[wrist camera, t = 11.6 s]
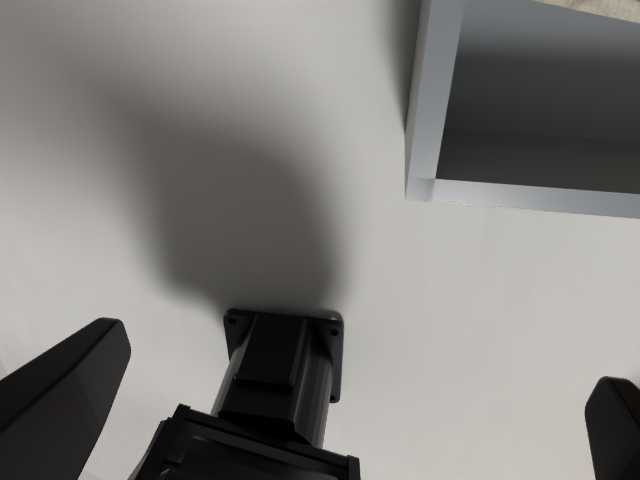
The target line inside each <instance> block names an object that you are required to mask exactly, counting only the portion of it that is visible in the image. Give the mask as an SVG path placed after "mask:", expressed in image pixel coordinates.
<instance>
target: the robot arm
mask: <svg viewBox="0 0 640 480" xmlns="http://www.w3.org/2000/svg"><path fill="white" fill-rule="evenodd" d="M232 318H234V319H232ZM223 321H224V328H225V335H226V341H227V348H228V355H229V361H230V363H229V365H228V368H227V371H226V373H225V376H224V379H223V381H222V384H221V386H220V389H219V392H218V394H217V397H216V400H215V402H214V405H213V407H212V410H211V413H210V415H209V414H206V413H203V412H200V411H196V410H193V409H190V408H191V407H190V406H187V405H184V404H180V403H179V405H178V407H177V409H176V411H175V413H174V414H173V416H172V418H171V417H168V418H167V420H164V421H161V422H160V424H159V426H158V428H157V430H156V432H155V434H154V437H153V439H152V441H151V443H150V445H149V447H148V449H147V451H146V453H145V454H144V456H143V458H142V459H141V461H140V462H139V464H138V465H137V466H136V468H135V469H134V471H133V472H132V474H131V475H130V477H129V478H128V479H127V480H361V479H360V463H359V458H357V457H354V456H350V455H347V456H343V455H340V454H337V453H334V452H330V451H327V450H324V449H322V447H323V440H324V433H325V427H326V420H327V413H328V407H329V403H337V402H338V401H339V400H340V394H341V376H342V359H343V341H344V325H343V324H342V323H341V322H339V321H335V320H327V319H318V318H309V317H300V316H291V315H282V314H273V313H264V312H255V311H246V310H236V309H230V310H227V312H226V313H225V316H224V319H223ZM332 329H335V330H336V331H334V330H332ZM130 356H131V346H130V343H129V340H128V337H127V334H126V330H125V327H124V324H123V322H122V321H121V320H119V319H113V318H105V317H102V318H98V319H96V320H95V321H93V322H91V323H90V324H88V325H87V326H85V327H83V328H82V329H80V330H79V331H77V332H76V333H74V334H72V335H71V336H69V337H68V338H66V339H65V340H63V341H61V342H60V343H58V344H57V345H55V346H54V347H52V348H50V349H49V350H47V351H46V352H44V353H42V354H41V355H39V356H38V357H36V358H35V359H33V360H31V361H30V362H28V363H27V364H25V365H24V366H22V367H20V368H19V369H17V370H16V371H14V372H13V373H11V374H9V375H8V376H6V377H5V378H3V379H1V380H0V480H78V478H79V476H80V474H81V472H82V470H83V468H84V466H85V464H86V462H87V460H88V458H89V456H90V454H91V452H92V450H93V448H94V446H95V444H96V442H97V440H98V438H99V436H100V434H101V432H102V429H103V427H104V425H105V422H106V420H107V417H108V415H109V412H110V410H111V407H112V404H113V402H114V399H115V396H116V394H117V391H118V389H119V386H120V383H121V381H122V378H123V375H124V373H125V370H126V368H127V365H128V362H129V360H130ZM585 421H586V427H587V432H588V438H589V444H590V450H591V455H592V461H593V467H594V473H595V479H596V480H640V389H639V388H638V387H637V386H635V385H634V384H633V383H632V382H631V381H629V380H627V379H624V378H617V377H608V376H604V377H602V378H600V379H599V381H598V382H597V384H596V386H595V388H594V390H593V392H592V394H591V395H590V397H589V399H588V401H587V403H586V406H585Z"/></svg>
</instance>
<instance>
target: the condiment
mask: <svg viewBox="0 0 640 480" xmlns="http://www.w3.org/2000/svg"><path fill="white" fill-rule="evenodd" d="M533 1H537V2H541V3H546V4H552V5H558V6H562V7H565V8H570V9H574V10H578V11H584V12H588V13H593V14H597V15H602V16H607V17H612V18H617V19H622V20H626V21H631V22H636V23H640V0H533Z"/></svg>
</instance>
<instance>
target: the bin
mask: <svg viewBox="0 0 640 480" xmlns="http://www.w3.org/2000/svg"><path fill="white" fill-rule="evenodd" d="M405 200H414V201H426V202H439V203H451V204H463V205H476V206H488V207H500V208H513V209H525V210H537V211H550V212H562V213H574V214H587V215H599V216H611V217H623V218H636V219H640V23H636V22H631V21H626V20H622V19H617V18H612V17H607V16H602V15H597V14H593V13H588V12H584V11H578V10H574V9H570V8H565V7H562V6H558V5H552V4H546V3H541V2H537V1H533V0H421V6H420V15H419V23H418V31H417V39H416V48H415V56H414V64H413V72H412V81H411V89H410V97H409V105H408V114H407V122H406V130H405Z"/></svg>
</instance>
